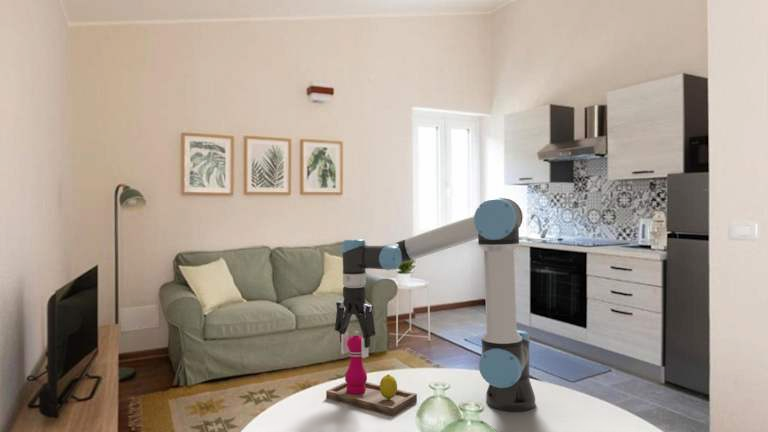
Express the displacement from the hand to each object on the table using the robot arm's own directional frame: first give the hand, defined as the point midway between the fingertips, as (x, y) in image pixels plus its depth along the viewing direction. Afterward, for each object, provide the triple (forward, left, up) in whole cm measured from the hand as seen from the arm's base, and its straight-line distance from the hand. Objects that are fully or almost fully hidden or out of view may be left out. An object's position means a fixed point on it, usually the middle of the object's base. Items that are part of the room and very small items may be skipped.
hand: (354, 354), depth 168 cm
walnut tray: (-6, 0, -14) cm, 15 cm away
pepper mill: (0, 0, -12) cm, 12 cm away
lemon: (-13, 0, -12) cm, 18 cm away
